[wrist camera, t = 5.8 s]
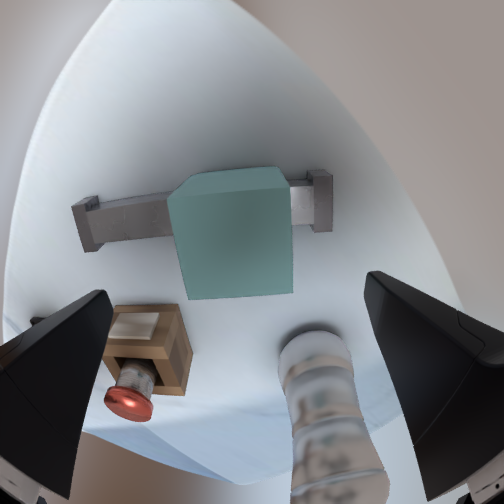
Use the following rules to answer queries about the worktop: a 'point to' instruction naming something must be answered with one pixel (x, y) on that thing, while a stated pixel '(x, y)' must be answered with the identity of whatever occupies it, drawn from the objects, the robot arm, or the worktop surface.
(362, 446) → the plastic bottle
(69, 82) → the worktop surface
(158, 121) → the worktop surface
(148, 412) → the button
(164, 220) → the rail
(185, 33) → the worktop surface
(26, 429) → the robot arm
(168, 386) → the brown button housing
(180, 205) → the carriage
